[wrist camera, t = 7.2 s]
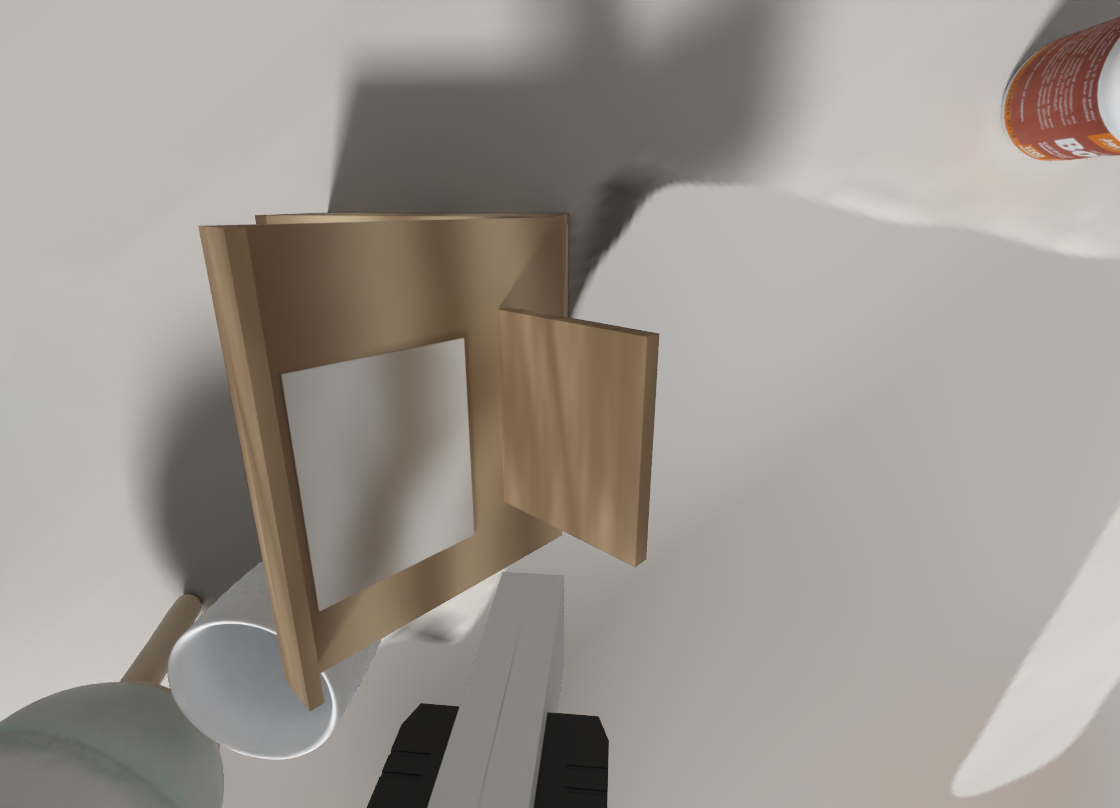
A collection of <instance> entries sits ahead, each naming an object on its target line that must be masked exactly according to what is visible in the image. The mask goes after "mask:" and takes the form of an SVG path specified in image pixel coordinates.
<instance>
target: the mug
mask: <svg viewBox="0 0 1120 808" xmlns="http://www.w3.org/2000/svg"><path fill="white" fill-rule="evenodd" d="M380 643H381V639H380V640H378V641H376V642H374V643H373V644H371V645H369V646H367V647H366V648H364V649H362V650H360V651H359V652H357V653H355V654H353V655H352V656H350V657H348V658H346V659H345V660H343V661H341V662H339V663H338V664H336V665H334V666H332V667H331V668H329V669H327V670H325V671H324V672H322V673H320V677H321V683H322V689H323V695H324V701H325V703H324V704H322V705H320V706H319V707H317V708H315V709H314V710H312V711H311V712H310V711H309V710H308V709H307V708H306V706H305V705H304V704H303V703H302V701H301V700H300V699H299V698H298V696H297V695H296V694H295V693H294V691H293V690H292V689H291V688H290V686H289V685H288V684H287V683H286V680H285V675H284V669H283V664H282V659H281V654H280V649H279V643H278V638H277V633H276V628H275V623H274V617H273V612H272V607H271V602H270V596H269V591H268V586H267V581H266V576H265V570H264V565H263V561H262V562H260V563H258V564H257V565H256V566H255V568H253V569H252V570H250V571H248V572H247V573H246V574H245V575H244V576H243V577H242V578H241V579H240V580H239V581H237V582H235V583H234V584H233V585H232V586H231V588H230V589H229V590H228V591H226V592H225V593H224V594H223V595H221V596H220V597H219V598H218V600H217V601H216V602H215V603H214V604H213V605H211V606H210V607H209V608H208V609H206V611H205V612H204V613H203V614H202V615H201V616H200V617H199V618H198V619H197V620H196V621H195V622H194V623H193V624H192V625H191V626H190V627H189V628H188V629H187V630H186V631H185V633H184V634H183V635H182V636H181V637H180V638H179V639H178V641H177V642H176V643H175V645H174V647H173V649H172V651H171V654H170V657H169V661H168V681H169V685H170V689H171V692H172V695H173V697H174V699H175V701H176V703H177V705H178V706H179V708H180V710H181V711H182V712H183V714H184V715H185V716H186V717H187V719H188V720H189V721H190V722H191V723H192V724H193V725H194V726H195V727H196V728H197V729H199V730H200V731H201V732H202V733H203V734H205V735H206V736H207V737H209V738H210V739H212V740H213V741H215V742H216V743H218V744H220V745H222V746H224V747H226V748H228V749H231V750H233V751H236V752H238V753H241V754H244V755H248V756H253V757H258V758H263V759H288V758H294V757H297V756H301V755H303V754H306V753H308V752H310V751H312V750H314V749H315V748H317V747H319V746H320V745H321V744H322V743H324V742H325V741H326V739H327V738H328V737H329V736H330V735H331V733H332V732H333V731H334V729H335V727H336V725H337V724H338V722H339V720H340V719H341V717H342V715H343V713H344V712H345V710H346V708H347V706H348V705H349V704H350V703H351V701H352V698H353V696H354V694H355V692H356V691H357V689H358V687H359V686H360V684H361V682H362V679H363V677H364V676H365V674H366V672H367V671H368V668H369V665H370V663H371V661H372V660H373V658H374V656H375V654H376V650H377V648H378V646H379V644H380Z"/></svg>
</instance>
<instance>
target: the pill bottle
mask: <svg viewBox="0 0 1120 808" xmlns="http://www.w3.org/2000/svg"><path fill="white" fill-rule="evenodd" d="M1001 124H1002V128H1003V132H1004V134H1005V136H1006V138H1007V140H1008V141H1009V143H1010V144H1011V146H1012V147H1013V148H1014V149H1015V150H1016V151H1018V152H1019V153H1021V154H1022V155H1024V156H1026V157H1028V158H1031V159H1035V160H1040V161H1061V160H1072V159H1082V158H1092V157H1103V156H1114V155H1117V156H1118V155H1120V17H1118V18H1115V19H1112V20H1110V21H1107V22H1104V23H1102V24H1099V25H1096V26H1094V27H1091V28H1088V29H1085V30H1083V31H1080V32H1077V33H1074V34H1072V35H1069V36H1066V37H1063V38H1061V39H1059V40H1057V41H1054V42H1052V43H1050V44H1049V45H1047V46H1045V47H1043V48H1042V49H1040V50H1039V51H1037V52H1036V53H1035V54H1033V55H1032V56H1031V57H1030V58H1029V59H1027V60H1026V61H1025V62H1024V63H1023V64H1022V66H1021V67H1020V68H1019V69H1018V70H1017V72H1016V73H1015V75H1014V76H1013V77H1012V79H1011V81H1010V83H1009V84H1008V86H1007V88H1006V91H1005V93H1004V96H1003V100H1002V105H1001Z"/></svg>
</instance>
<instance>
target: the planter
mask: <svg viewBox="0 0 1120 808" xmlns="http://www.w3.org/2000/svg"><path fill="white" fill-rule="evenodd" d="M200 610H201V602H200V600H199V599H198V598H197V597H196V596H194V595H191V594H186V595H182V596H181V597H179V598H178V599H177V600H176V602H175V603H174V604H173V606H172V607H171V608H170V610H169V611H168V612H167V614H166V615H165V617H164V618H163V620H162V621H161V623H160V624H159V626H158V627H157V629H156V630H155V632H154V633H153V635H152V636H151V638H150V639H149V641H148V642H147V644H146V645H145V647H144V648H143V650H142V651H141V652H140V654H139V655H138V657H137V658H136V659H135V661H134V662H133V664H132V665H131V667H130V668H129V669H128V671H127V672H126V674H125V675H124V676H123V678H122V679H121V681H120V682H110V683H98V684H91V685H85V686H80V687H76V688H72V689H68V690H65V691H61V692H58V693H55V694H53V695H50V696H47V697H45V698H42V699H40V700H38V701H36V702H34V703H32V704H30V705H28V706H26V707H24V708H22V709H20V710H18V711H17V712H15V713H13V714H12V715H10V716H9V717H7V718H6V719H4V720H3V721H1V722H0V808H222V802H223V792H224V774H223V765H222V759H221V755H220V746H219V744H218V743H216V742H215V741H213V740H212V739H210V738H209V737H207V736H206V735H205V734H203V733H202V732H201V731H200V730H199V729H197V728H196V727H195V726H194V725H193V724H192V723H191V722H190V721H189V720H188V719H187V717H186V716H185V715H184V714H183V712H182V711H181V710H180V708H179V706H178V705H177V703H176V701H175V699H174V697H173V695H172V692H171V689H169V688H167V687H164V686H161V685H160V684H161V682H162V680H163V678H164V677H165V675H166V673H167V671H168V661H169V657H170V654H171V651H172V649H173V647H174V645H175V643H176V642H177V641H178V639H179V638H180V637H181V636H182V635H183V634H184V633H185V631H186V630H187V629H188V628H189V627H190V626H191V625H192V624H193V623H194V621H195V619H196V618H197V616H198V614H199V612H200Z"/></svg>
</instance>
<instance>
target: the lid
mask: <svg viewBox="0 0 1120 808" xmlns="http://www.w3.org/2000/svg"><path fill="white" fill-rule="evenodd" d="M199 231H200V237H201V242H202V247H203V252H204V257H205V263H206V268H207V273H208V278H209V284H210V289H211V294H212V299H213V304H214V310H215V315H216V320H217V325H218V330H219V336H220V341H221V346H222V351H223V357H224V362H225V367H226V372H227V377H228V383H229V388H230V393H231V398H232V404H233V409H234V414H235V419H236V424H237V430H238V435H239V440H240V445H241V450H242V456H243V461H244V466H245V471H246V477H247V482H248V487H249V492H250V497H251V503H252V508H253V513H254V518H255V523H256V529H257V534H258V539H259V544H260V550H261V555H262V560H263V565H264V570H265V576H266V581H267V586H268V591H269V596H270V602H271V607H272V612H273V617H274V623H275V628H276V633H277V638H278V643H279V649H280V654H281V659H282V664H283V669H284V675H285V680H286V683H287V684H288V685H289V686H290V688H291V689H292V690H293V691H294V693H295V694H296V695H297V696H298V698H299V699H300V700H301V701H302V703H303V704H304V705H305V706H306V708H307V709H308V710H309V711H310V712H311V711H312V710H314V709H315V708H317V707H319V706H320V705H322V704H324V703H325V701H324V695H323V689H322V683H321V677H320V673H322V672H324V671H325V670H327V669H329V668H331V667H332V666H334V665H336V664H338V663H339V662H341V661H343V660H345V659H346V658H348V657H350V656H352V655H353V654H355V653H357V652H359V651H360V650H362V649H364V648H366V647H367V646H369V645H371V644H373V643H374V642H376V641H378V640H380V639H381V638H383V637H385V636H387V635H388V634H390V633H392V632H394V631H395V630H397V629H399V628H401V627H402V626H404V625H406V624H408V623H409V622H411V621H413V620H415V619H416V618H418V617H420V616H422V615H423V614H425V613H427V612H429V611H430V610H432V609H434V608H436V607H437V606H439V605H441V604H443V603H444V602H446V601H448V600H450V599H451V598H453V597H455V596H457V595H458V594H460V593H462V592H464V591H465V590H467V589H469V588H471V587H472V586H474V585H476V584H478V583H479V582H481V581H483V580H485V579H486V578H488V577H490V576H492V575H493V574H495V573H497V572H499V571H500V570H502V569H504V568H506V567H507V566H509V565H511V564H512V563H514V562H516V561H518V560H520V559H521V558H523V557H524V556H526V555H528V554H530V553H532V552H533V551H535V550H537V549H539V548H540V547H542V546H544V545H546V544H547V543H549V542H551V541H553V540H554V539H556V538H558V537H560V536H561V535H562V531H564V532H566V533H568V534H570V535H572V536H574V537H576V538H578V539H580V540H582V541H584V542H586V543H588V544H590V545H592V546H594V547H596V548H598V549H600V550H602V551H604V552H606V553H608V554H610V555H612V556H614V557H616V558H618V559H620V560H622V561H624V562H626V563H628V564H630V565H632V566H634V567H636V566H637V565H639V564H640V563H642V562H643V561H644V560H646V552H647V534H648V517H649V500H650V482H651V466H652V449H653V432H654V415H655V398H656V379H657V363H658V346H659V334H658V333H653V332H647V331H641V330H636V329H630V328H624V327H619V326H613V325H608V324H602V323H596V322H591V321H584V320H579V319H574V318H568V317H563V217H536V218H496V219H456V220H416V221H376V222H337V223H297V224H257V225H217V226H199Z"/></svg>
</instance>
